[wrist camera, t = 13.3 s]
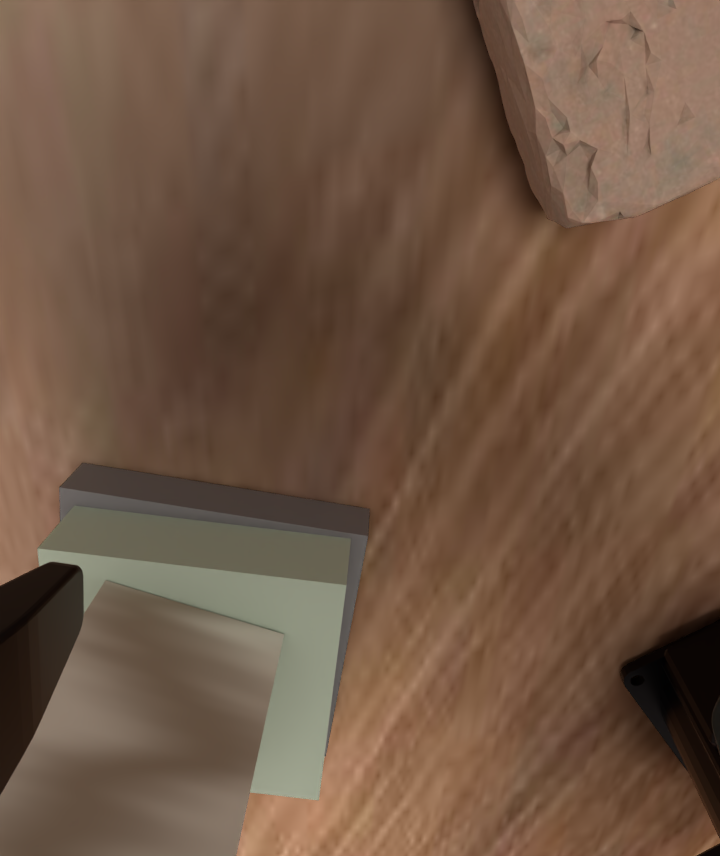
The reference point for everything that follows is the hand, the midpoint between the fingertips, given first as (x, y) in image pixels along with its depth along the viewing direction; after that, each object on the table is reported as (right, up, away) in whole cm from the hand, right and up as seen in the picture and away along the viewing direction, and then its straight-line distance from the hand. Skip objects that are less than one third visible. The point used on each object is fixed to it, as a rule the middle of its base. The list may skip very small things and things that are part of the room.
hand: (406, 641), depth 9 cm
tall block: (-6, -5, +12) cm, 14 cm away
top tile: (-6, -4, +14) cm, 16 cm away
